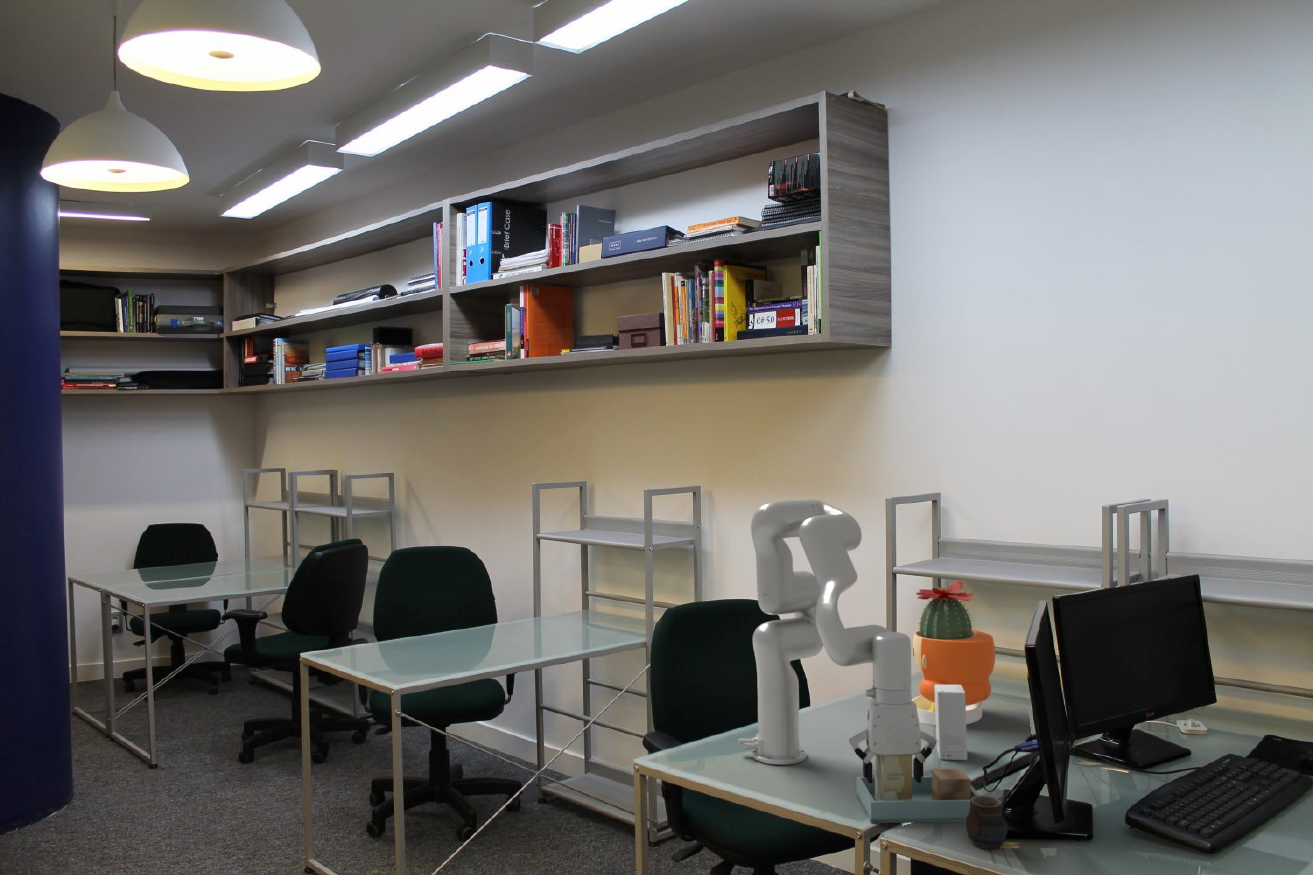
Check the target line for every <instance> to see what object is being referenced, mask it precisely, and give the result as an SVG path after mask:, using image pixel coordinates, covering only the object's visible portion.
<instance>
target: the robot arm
mask: <svg viewBox="0 0 1313 875" xmlns="http://www.w3.org/2000/svg"><path fill="white" fill-rule="evenodd" d="M750 530H751V538H752V543H753V547H754V551H755V559H756V560H755V561H756V562H755V564H756V567H755V568H756V591H757V602H758V606H759V608H760V610H761V612H763V613H764V614H766V615H770V616H771V615H772V616H775V615H777V616H778V615H779V616H780V615H787V614H788V615H789V614H794V617H793V618H792V617H791V618H783V619H776V620H771V621H766V622H764V623H761V624H760V625H758V626H757V628H755V630H754V631H753V634H752V647H753V652H754V657H755V658H754V659H755V663H756V674H757V678H756V679H757V681H756V682H757V724H758V725H757V727H758V728H757V731H758V732H757V733H755V736H752V737H751V738H738V748H744V749H745V750H751V756H752V758H753V759H754V760H756V761H758V762H760V763H763V764H769V765H776V766H777V765H778V766H779V765H780V766H782V765H783V766H784V765H794V764H795V765H796V764H798V763H799V764H800V763H801V762H803V761H804V760H805V759H807V751H806V750H805V749H804V748H803V747H801V746H800V695H799V694H800V691H799V688H800V687H799V686H800V685H799V684H800V683H799V678H798V676H797V673H796V671H795V669H794V668H793V666H792V664H791V661H796V660H801V659H807V658H812V657H815V656H817V655H819V654H820V653H821V652H822V650H823V649H824V650H825V652H826V653H827V655H828V657H829V658H830V660H831V661H832V662H833V663H834V664H836V665H838V666H841V667H853V666H857V665H863V664H872V685H871V688H869V689H865V696H866V697H870V698H872V699H871V700H870V701H869V705H868V711H867V716H866V729H864V730H863V731H862V732H859V733H858V734H855V735H854V736H851V737H850V738H849V739H848V741H849V743H850V745H851V748H852V750H853V751H854V754H856V755H857V756H858V758H860V759H861V761H862V777H864V778H866V779H867V781H868V783H872V782H873V777H874V776H873V763H872V759H874V757H875V755H912V756H915V757H914V758H912V774H913V776H914V779H915V780H916V781H917V782H918V783H921V777H923V776H924V763H926V760H927V759H928V758H929V757H930V756H931V754H932V753H933V750H934V748H935V746H937V740H936V737H935V736H932V735H931V734H928V733H927V732H925V731H922V730H921V728H920V722H919V718H918V711H917V706H916V703H915V702H913V701H912V699H913V698H912V695H913V694H912V642H911V639H910V637H909V636H908V635H907V634H905V633H904V632H903V633H902V632H898V631H891V630H889V629H888V628H886V627H884V626H883V625H879V624H867V625H860V626H853V627H847V628H845V626H844V625H843V622H842V620H841V616H840V614H839V608H838V602H839V598H840V596H841V594H842V593H844V592H846V591H847V590H848V589H850V588H851V587H852V586H854V584H855V583H856V582H857V580H858V573H857V570H856V568H855V566H854V563H853V562H852V558H850V554H849V552H851V551H853V550H856V549H857V548H859V546H860V545H861V542H862V538H863V537H862V529H861V527H860V524H859V522H858V521H857V520H856V519H855V518H854V517H853V515H851V514H849V513H848V512H846V511H844V510H842V509H840V508H837V507H835V506H833V505H831V504H829V503H827V502H825V501H822V500H818V499H797V500H780V501H779V500H778V501H772V502H767V503H764V504H762V505H761V506H759V507H758V508H757V509H756V510H755V511H754V513H753V515H752V518H751V524H750ZM788 538H789V539H790V538H799V539H798V540H799V541H800V544H801V546H802V548H803V551H804V553H805V556H806V558H807V560H808V563H809V566H810V568H811V570H812V573H811V572H810V571H805V570H798V571H794V566H793V564H794V562H793V558H794V557H793V553H792V550H791V549H790V547H789V545H788V542H786V541H785V539H788ZM823 647H824V648H823ZM921 739H922V740H923V741H926V745H925V746H924V747H923V748H922V749H921V746H922V744H921V742H922V741H921ZM863 741H865V743H866V748H865V749H864V750H862V748H860V746H859V743H861V742H863Z"/></svg>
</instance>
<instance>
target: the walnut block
mask: <svg viewBox="0 0 1313 875" xmlns="http://www.w3.org/2000/svg"><path fill="white" fill-rule="evenodd" d="M931 776H932V800H971V786H972V785H971V782H972V781H971V778H970V777H969V776H968V775H967V774H966V773H965V771H964V770H963V769H962V768H931Z"/></svg>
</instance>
